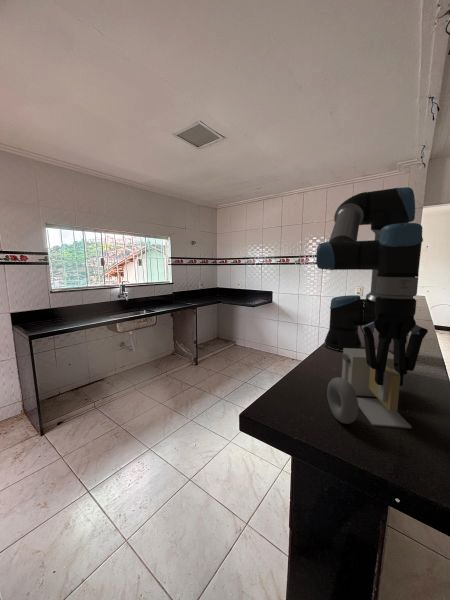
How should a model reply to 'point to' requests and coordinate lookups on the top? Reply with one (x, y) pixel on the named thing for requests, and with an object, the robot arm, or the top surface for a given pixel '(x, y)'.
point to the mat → (381, 414)
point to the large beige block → (360, 369)
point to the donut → (342, 400)
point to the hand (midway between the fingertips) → (387, 398)
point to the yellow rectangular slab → (392, 388)
